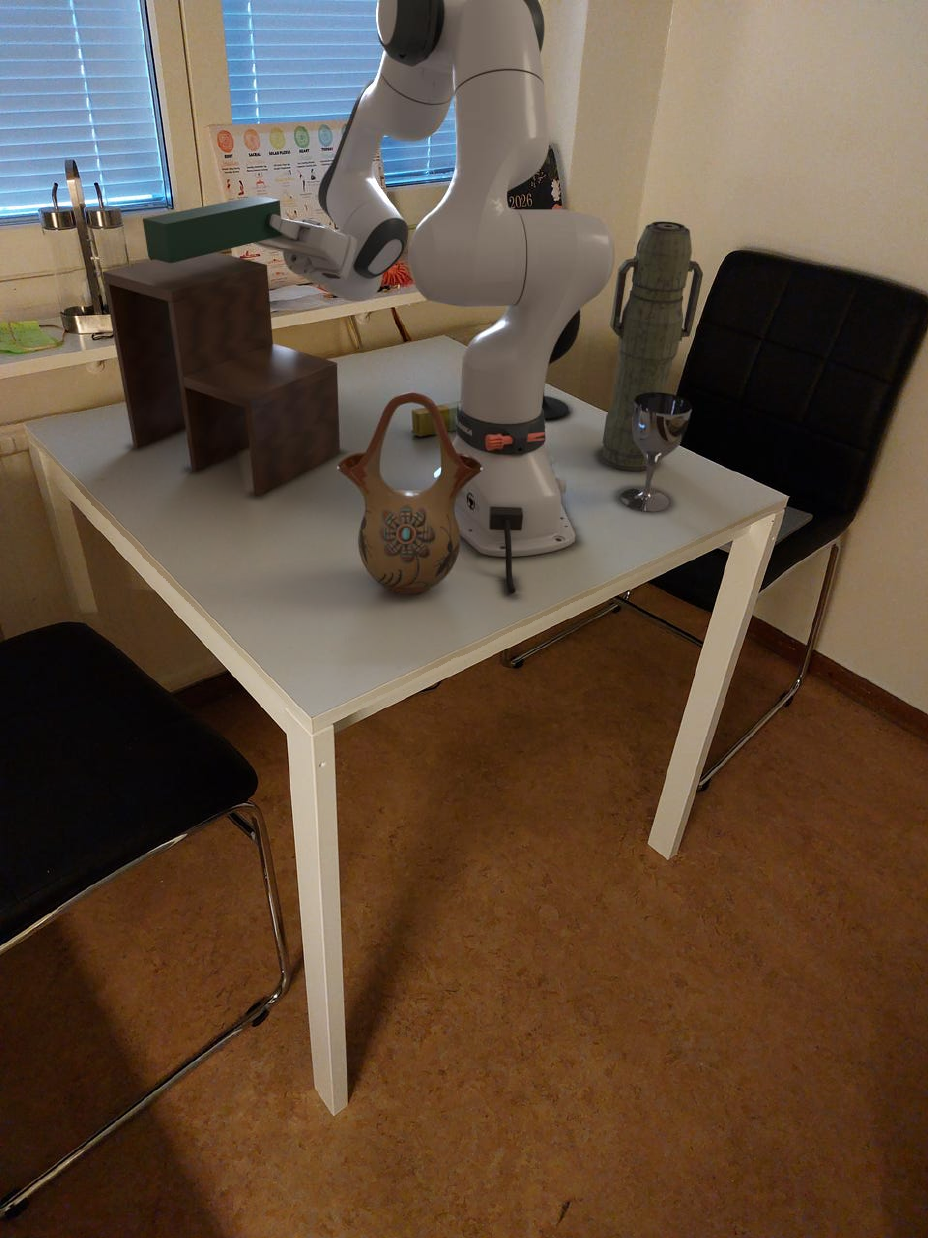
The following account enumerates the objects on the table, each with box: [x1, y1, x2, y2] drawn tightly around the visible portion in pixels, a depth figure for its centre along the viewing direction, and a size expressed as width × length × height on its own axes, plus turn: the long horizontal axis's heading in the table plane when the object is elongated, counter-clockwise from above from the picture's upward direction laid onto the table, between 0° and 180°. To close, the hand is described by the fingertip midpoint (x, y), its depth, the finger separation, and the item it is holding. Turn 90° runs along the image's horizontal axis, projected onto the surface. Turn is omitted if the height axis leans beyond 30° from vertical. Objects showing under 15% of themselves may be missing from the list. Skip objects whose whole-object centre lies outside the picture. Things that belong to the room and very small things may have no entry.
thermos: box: [600, 220, 704, 472], centre depth 133 cm, size 9×12×35 cm
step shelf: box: [101, 252, 341, 497], centre depth 131 cm, size 18×26×26 cm
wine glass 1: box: [542, 309, 581, 421], centre depth 152 cm, size 10×10×20 cm
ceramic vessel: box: [336, 391, 483, 595], centre depth 103 cm, size 16×9×25 cm, turn 95°
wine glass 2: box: [620, 392, 693, 513], centre depth 127 cm, size 8×8×15 cm
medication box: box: [411, 400, 461, 437], centre depth 147 cm, size 12×3×4 cm, turn 123°
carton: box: [142, 195, 282, 263], centre depth 128 cm, size 22×4×5 cm, turn 147°
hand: (255, 215), depth 133 cm, fingers closed on carton, 4 cm apart
